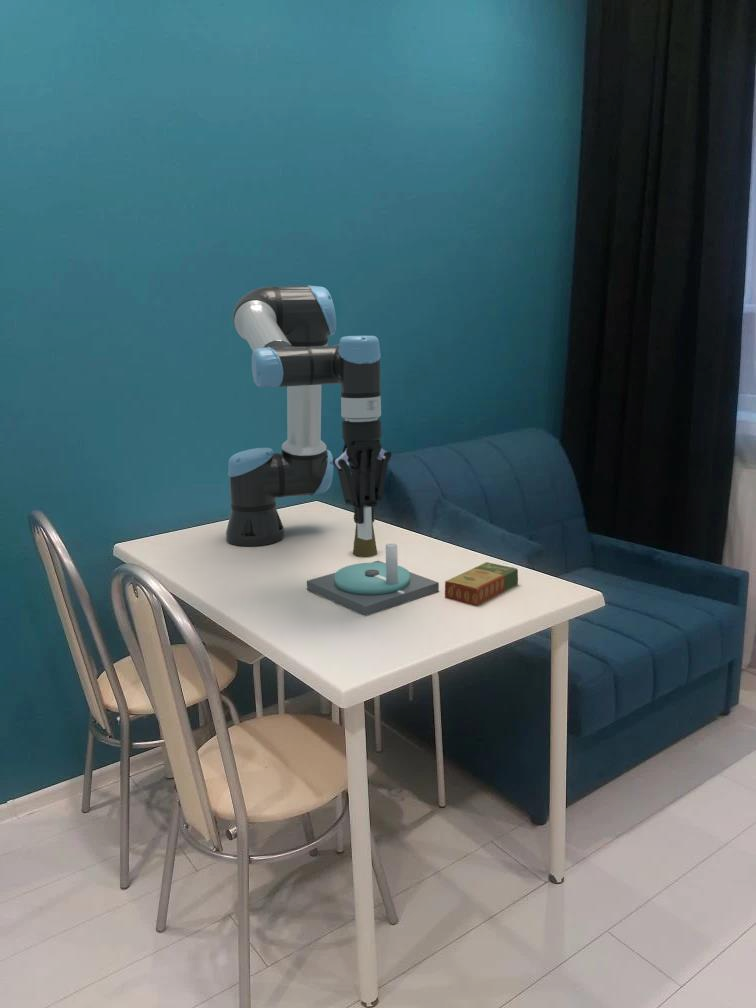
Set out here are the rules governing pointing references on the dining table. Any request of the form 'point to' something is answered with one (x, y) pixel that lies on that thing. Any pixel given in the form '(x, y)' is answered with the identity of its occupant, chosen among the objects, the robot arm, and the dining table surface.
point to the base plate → (372, 602)
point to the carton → (481, 583)
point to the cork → (364, 544)
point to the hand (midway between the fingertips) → (364, 538)
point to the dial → (374, 576)
